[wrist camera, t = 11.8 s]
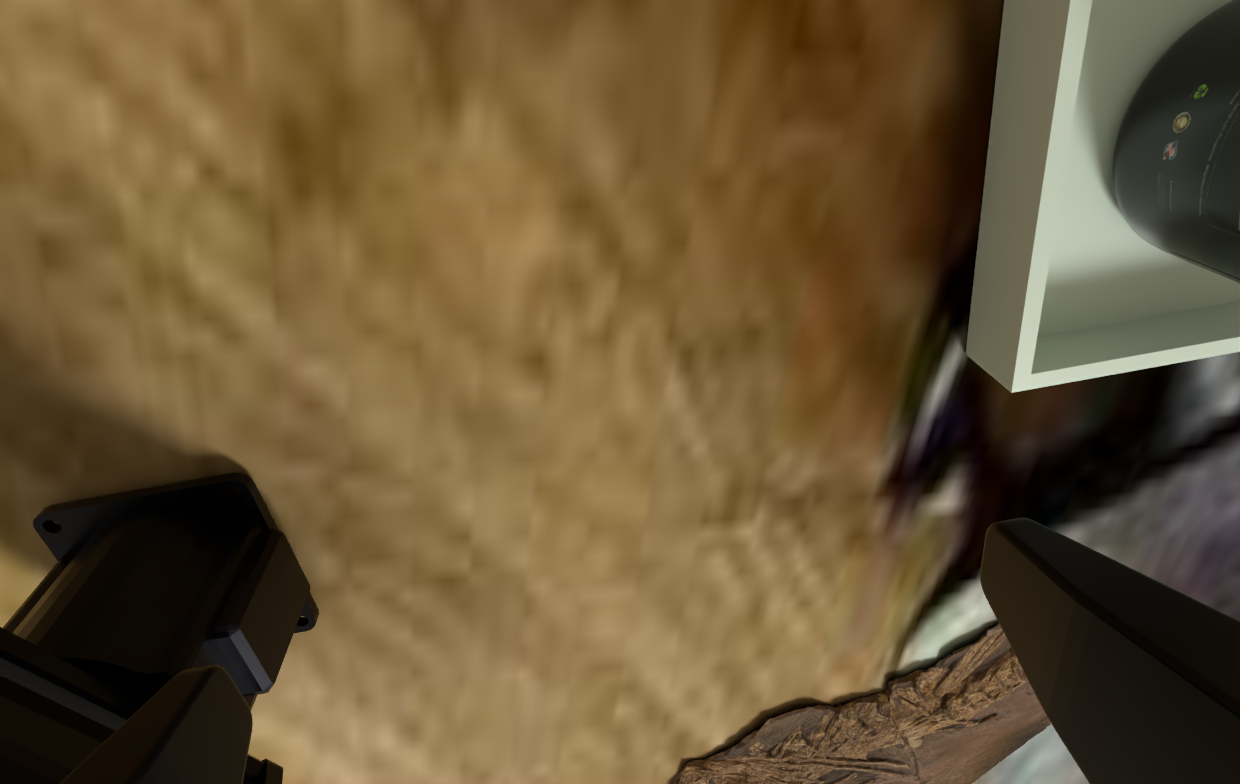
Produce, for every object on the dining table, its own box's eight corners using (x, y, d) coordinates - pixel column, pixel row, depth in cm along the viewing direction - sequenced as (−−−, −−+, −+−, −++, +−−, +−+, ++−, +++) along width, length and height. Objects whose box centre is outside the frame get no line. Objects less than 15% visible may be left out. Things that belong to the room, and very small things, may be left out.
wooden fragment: (1100, 568, 28) (1118, 588, 27) (1133, 715, 34) (1150, 736, 33) (540, 800, 32) (540, 823, 31) (648, 899, 38) (650, 921, 37)
